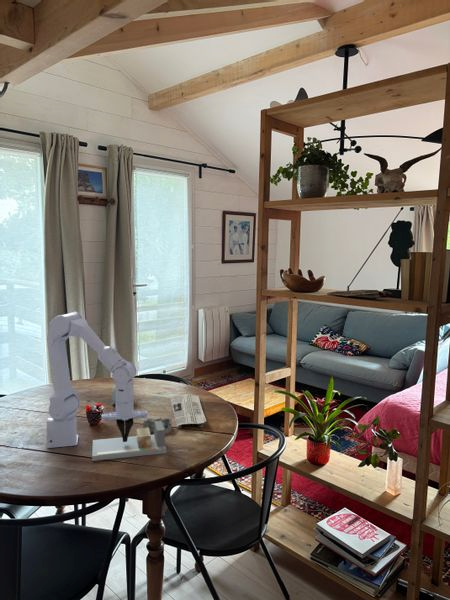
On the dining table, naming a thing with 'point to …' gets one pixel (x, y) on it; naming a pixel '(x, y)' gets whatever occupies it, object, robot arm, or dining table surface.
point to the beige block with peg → (143, 437)
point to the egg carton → (150, 422)
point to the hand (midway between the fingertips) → (124, 440)
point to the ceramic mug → (114, 395)
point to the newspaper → (187, 410)
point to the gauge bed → (129, 446)
